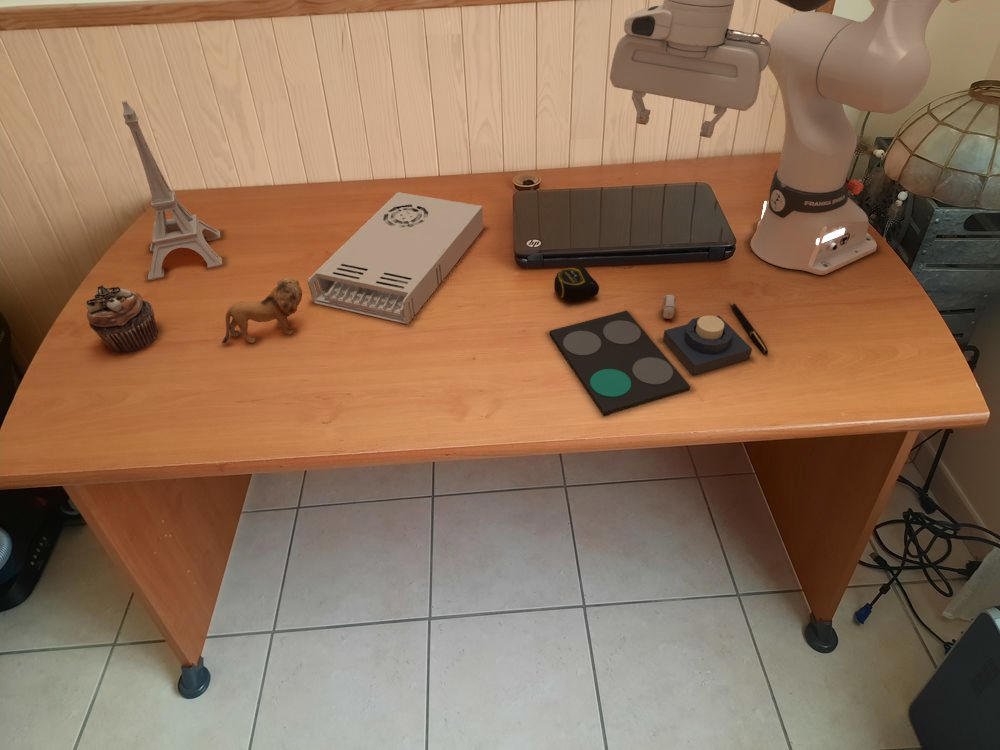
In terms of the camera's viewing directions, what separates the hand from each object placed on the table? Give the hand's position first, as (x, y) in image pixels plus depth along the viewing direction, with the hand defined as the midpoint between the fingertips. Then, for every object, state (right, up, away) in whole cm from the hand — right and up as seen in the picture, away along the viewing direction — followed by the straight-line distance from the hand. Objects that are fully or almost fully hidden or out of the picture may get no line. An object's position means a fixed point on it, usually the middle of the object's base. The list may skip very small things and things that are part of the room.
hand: (673, 129), depth 100 cm
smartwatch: (+3, -26, +16) cm, 30 cm away
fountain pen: (+15, -28, +13) cm, 34 cm away
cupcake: (-87, -29, +17) cm, 93 cm away
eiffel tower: (-86, -12, +36) cm, 95 cm away
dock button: (+7, -29, +7) cm, 30 cm away
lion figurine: (-64, -28, +17) cm, 72 cm away
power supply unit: (-43, -15, +31) cm, 55 cm away
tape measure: (-11, -21, +22) cm, 33 cm away
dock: (+7, -31, +9) cm, 34 cm away
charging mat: (-7, -33, +8) cm, 35 cm away
